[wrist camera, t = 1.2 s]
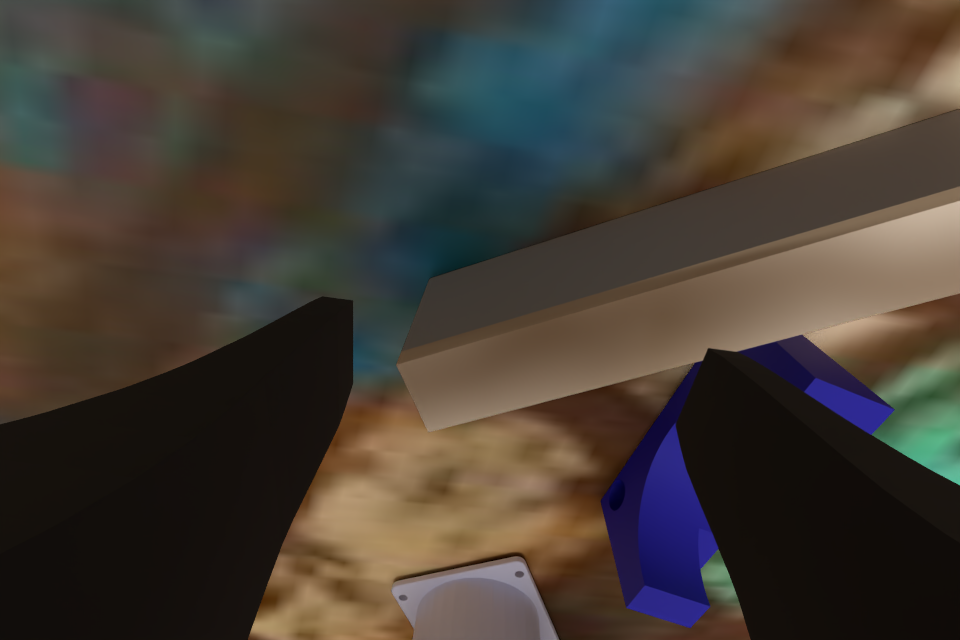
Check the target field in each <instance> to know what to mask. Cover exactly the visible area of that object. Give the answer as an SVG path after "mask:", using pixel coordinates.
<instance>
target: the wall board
mask: <svg viewBox="0 0 960 640" xmlns="http://www.w3.org/2000/svg"><path fill="white" fill-rule="evenodd" d="M958 293H960V109H957V110H954V111H951V112H948V113H945V114H942V115H939V116H936V117H932V118H929V119H926V120H923V121H920V122H917V123H914V124H911V125H907V126H904V127H901V128H898V129H895V130H892V131H889V132H886V133H882V134H879V135H876V136H873V137H870V138H867V139H864V140H861V141H857V142H854V143H851V144H848V145H845V146H842V147H839V148H836V149H832V150H829V151H826V152H823V153H820V154H817V155H814V156H811V157H807V158H804V159H801V160H798V161H795V162H792V163H789V164H786V165H782V166H779V167H776V168H773V169H770V170H767V171H764V172H761V173H758V174H754V175H751V176H748V177H745V178H742V179H739V180H736V181H733V182H729V183H726V184H723V185H720V186H717V187H714V188H711V189H708V190H704V191H701V192H698V193H695V194H692V195H689V196H686V197H683V198H679V199H676V200H673V201H670V202H667V203H664V204H661V205H658V206H654V207H651V208H648V209H645V210H642V211H639V212H636V213H633V214H629V215H626V216H623V217H620V218H617V219H614V220H611V221H608V222H604V223H601V224H598V225H595V226H592V227H589V228H586V229H583V230H579V231H576V232H573V233H570V234H567V235H564V236H561V237H558V238H554V239H551V240H548V241H545V242H542V243H539V244H536V245H533V246H530V247H526V248H523V249H520V250H517V251H514V252H511V253H508V254H505V255H501V256H498V257H495V258H492V259H489V260H486V261H483V262H480V263H476V264H473V265H470V266H467V267H464V268H461V269H458V270H455V271H451V272H448V273H445V274H442V275H439V276H436V277H433V278H430V279H429V281H428V284H427V286H426V289H425V292H424V294H423V297H422V299H421V302H420V305H419V307H418V310H417V312H416V315H415V318H414V320H413V323H412V325H411V328H410V331H409V333H408V336H407V338H406V341H405V344H404V346H403V349H402V351H401V354H400V356H399V359H398V362H397V364H396V365H397V367H398V370H399V372H400V374H401V376H402V378H403V380H404V382H405V384H406V386H407V388H408V391H409V393H410V395H411V397H412V399H413V401H414V403H415V405H416V407H417V409H418V412H419V414H420V416H421V418H422V420H423V422H424V424H425V426H426V428H427V430H428V432H432V431H436V430H440V429H443V428H447V427H451V426H455V425H459V424H462V423H466V422H470V421H474V420H478V419H482V418H485V417H489V416H493V415H497V414H501V413H504V412H508V411H512V410H516V409H520V408H523V407H527V406H531V405H535V404H539V403H543V402H546V401H550V400H554V399H558V398H562V397H565V396H569V395H573V394H577V393H581V392H584V391H588V390H592V389H596V388H600V387H604V386H607V385H611V384H615V383H619V382H623V381H626V380H630V379H634V378H638V377H642V376H646V375H649V374H653V373H657V372H661V371H665V370H668V369H672V368H676V367H680V366H684V365H687V364H691V363H695V362H699V361H703V359H704V356H705V354H706V352H707V349H708V348H712V349H719V350H727V351H734V352H737V351H741V350H745V349H748V348H752V347H756V346H760V345H764V344H768V343H771V342H775V341H779V340H783V339H787V338H790V337H794V336H798V335H802V334H806V333H810V332H813V331H817V330H821V329H825V328H829V327H832V326H836V325H840V324H844V323H848V322H851V321H855V320H859V319H863V318H867V317H871V316H874V315H878V314H882V313H886V312H890V311H893V310H897V309H901V308H905V307H909V306H912V305H916V304H920V303H924V302H928V301H932V300H935V299H939V298H943V297H947V296H951V295H954V294H958Z"/></svg>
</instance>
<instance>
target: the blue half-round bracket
mask: <svg viewBox="0 0 960 640" xmlns="http://www.w3.org/2000/svg"><path fill="white" fill-rule="evenodd" d="M737 352H739V353H741V354H743V355H745V356H747V357H749V358H751V359H753V360H754V361H756V362H758V363H759V364H761V365H763V366H764V367H766V368H768V369H769V370H771V371H773V372H774V373H776V374H777V375H779V376H780V377H782V378H783V379H785V380H787V381H788V382H790V383H791V384H793V385H794V386H796V387H797V388H799V389H800V390H802V391H803V392H805V393H806V394H808V395H809V396H811V397H812V398H814V399H816V400H817V401H819V402H820V403H822V404H823V405H825V406H826V407H828V408H829V409H831V410H832V411H834V412H835V413H837V414H839V415H840V416H842V417H843V418H845V419H846V420H848V421H850V422H851V423H853V424H854V425H856V426H857V427H859V428H861V429H862V430H864V431H865V432H867V433H869V434H870V435H872V433H873V432H874V431H875V430H876V429H877V428H878V427H879V426H880V425H881V424H882V423H883V422H884V421H885V420H886V419H887V417H888V416H889V415H890V414H891V413H892V412H893V411H894V410H895V409H893V408H892V407H891V406H890V405H888V404H887V403H886V402H885V401H883V400H882V399H881V398H880V397H879V396H877V395H876V394H875V393H874V392H872V391H871V390H870V389H869V388H867V387H866V386H865V385H864V384H862V383H861V382H860V381H859V380H857V379H856V378H855V377H854V376H852V375H851V374H850V373H849V372H848V371H846V370H845V369H844V368H843V367H841V366H840V365H839V364H838V363H836V362H835V361H834V360H833V359H831V358H830V357H829V356H828V355H826V354H825V353H824V352H823V351H822V350H820V349H819V348H818V347H817V346H815V345H814V344H813V343H812V342H810V341H809V340H808V339H807V338H805V337H804V336H803V335H798V336H794V337H790V338H787V339H783V340H779V341H775V342H771V343H768V344H764V345H760V346H756V347H752V348H748V349H745V350H741V351H737ZM701 363H702V361H699V362H695V364H694V365H693V367H692V368H691V370H690V371H689V373H688V374H687V376H686V377H685V378H684V380H683V381H682V383H681V384H680V386H679V387H678V389H677V390H676V392H675V393H674V395H673V396H672V397H671V399H670V400H669V402H668V403H667V405H666V406H665V408H664V409H663V411H662V412H661V413H660V415H659V416H658V418H657V419H656V421H655V422H654V424H653V425H652V427H651V428H650V430H649V431H648V432H647V434H646V435H645V437H644V438H643V440H642V441H641V443H640V444H639V446H638V447H637V449H636V450H635V451H634V453H633V454H632V456H631V457H630V459H629V460H628V462H627V463H626V465H625V466H624V467H623V469H622V470H621V472H620V473H619V475H618V476H617V478H616V479H615V481H614V482H613V484H612V485H611V486H610V488H609V489H608V491H607V492H606V494H605V495H604V497H603V498H602V500H601V505H602V509H603V513H604V517H605V522H606V526H607V530H608V534H609V538H610V542H611V546H612V551H613V555H614V559H615V563H616V567H617V571H618V575H619V579H620V584H621V588H622V592H623V596H624V600H625V604H626V608H628V609H632V610H635V611H638V612H641V613H644V614H648V615H651V616H654V617H657V618H660V619H663V620H667V621H670V622H673V623H676V624H679V625H682V626H686V627H689V628H691V627H692V625H693V624H694V623H695V622H696V621H697V620H698V619H699V618H700V617H701V616H702V615H703V614H704V613H705V612H706V611H707V609H708V608H709V607H710V604H709V601H708V599H707V596H706V593H705V589H704V585H703V581H702V576H701V571H700V569H701V568H702V567H703V566H704V564H705V563H706V562H707V561H708V560H709V559H710V558H711V557H712V555H713V554H714V553H715V552H716V551H717V550H718V549H719V548H718V546H717V544H716V541H715V539H714V536H713V534H712V532H711V529H710V527H709V524H708V522H707V520H706V517H705V515H704V512H703V510H702V508H701V505H700V503H699V500H698V498H697V495H696V493H695V490H694V488H693V485H692V483H691V480H690V478H689V475H688V473H687V470H686V467H685V463H684V459H683V456H682V452H681V448H680V444H679V439H678V435H677V430H676V426H675V425H676V422H677V420H678V417H679V415H680V413H681V410H682V408H683V406H684V403H685V401H686V399H687V396H688V394H689V392H690V389H691V387H692V385H693V382H694V380H695V378H696V375H697V373H698V371H699V368H700V366H701Z"/></svg>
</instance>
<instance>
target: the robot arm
mask: <svg viewBox="0 0 960 640" xmlns="http://www.w3.org/2000/svg"><path fill="white" fill-rule="evenodd" d="M352 385H353V301H352V300H345V299H337V298H330V297H320V298H318V299H316V300H314V301H311V302H309V303H308V304H306V305H304V306H302V307H300V308H298V309H296V310H294V311H292V312H291V313H289V314H287V315H285V316H283V317H281V318H280V319H278V320H276V321H274V322H272V323H270V324H268V325H266V326H264V327H263V328H261V329H259V330H257V331H255V332H253V333H251V334H249V335H247V336H245V337H243V338H241V339H239V340H237V341H235V342H233V343H231V344H229V345H226V346H224V347H222V348H220V349H218V350H216V351H214V352H212V353H210V354H207V355H205V356H203V357H201V358H199V359H197V360H195V361H192V362H190V363H188V364H185V365H183V366H181V367H178V368H176V369H173V370H171V371H168V372H166V373H163V374H160V375H158V376H155V377H152V378H150V379H147V380H144V381H142V382H139V383H136V384H134V385H131V386H128V387H125V388H122V389H120V390H117V391H113V392H110V393H107V394H104V395H100V396H97V397H94V398H91V399H88V400H84V401H81V402H78V403H75V404H71V405H68V406H65V407H62V408H58V409H55V410H52V411H49V412H45V413H42V414H38V415H35V416H31V417H27V418H23V419H20V420H16V421H12V422H8V423H4V424H0V640H248V637H249V634H250V631H251V628H252V626H253V623H254V620H255V617H256V614H257V611H258V609H259V606H260V603H261V600H262V597H263V595H264V592H265V589H266V587H267V584H268V581H269V579H270V576H271V573H272V570H273V568H274V565H275V562H276V560H277V557H278V554H279V552H280V549H281V546H282V544H283V541H284V539H285V537H286V535H287V532H288V530H289V528H290V526H291V523H292V521H293V519H294V517H295V515H296V513H297V511H298V509H299V507H300V505H301V503H302V501H303V499H304V497H305V494H306V492H307V490H308V488H309V486H310V484H311V482H312V480H313V478H314V476H315V474H316V472H317V470H318V468H319V466H320V464H321V462H322V460H323V458H324V456H325V454H326V452H327V450H328V448H329V445H330V443H331V441H332V439H333V437H334V435H335V433H336V431H337V429H338V427H339V424H340V422H341V419H342V416H343V413H344V410H345V407H346V404H347V401H348V398H349V394H350V391H351V388H352ZM675 426H676V430H677V435H678V439H679V444H680V448H681V452H682V456H683V459H684V463H685V467H686V470H687V473H688V475H689V478H690V480H691V483H692V485H693V488H694V490H695V493H696V495H697V498H698V500H699V503H700V505H701V508H702V510H703V512H704V515H705V517H706V520H707V522H708V524H709V527H710V529H711V532H712V534H713V536H714V539H715V541H716V544H717V546H718V548H719V551H720V553H721V556H722V558H723V560H724V563H725V565H726V568H727V570H728V572H729V575H730V578H731V580H732V583H733V586H734V588H735V591H736V594H737V597H738V599H739V602H740V606H741V609H742V612H743V616H744V619H745V622H746V626H747V629H748V632H749V636H750V639H751V640H960V485H958V484H956V483H954V482H952V481H950V480H948V479H946V478H945V477H943V476H941V475H939V474H937V473H935V472H933V471H932V470H930V469H928V468H926V467H924V466H923V465H921V464H919V463H917V462H916V461H914V460H912V459H910V458H909V457H907V456H905V455H904V454H902V453H900V452H899V451H897V450H895V449H894V448H892V447H890V446H889V445H887V444H885V443H884V442H882V441H880V440H879V439H877V438H875V437H874V436H872V435H870V434H869V433H867V432H865V431H864V430H862V429H861V428H859V427H857V426H856V425H854V424H853V423H851V422H850V421H848V420H846V419H845V418H843V417H842V416H840V415H839V414H837V413H835V412H834V411H832V410H831V409H829V408H828V407H826V406H825V405H823V404H822V403H820V402H819V401H817V400H816V399H814V398H812V397H811V396H809V395H808V394H806V393H805V392H803V391H802V390H800V389H799V388H797V387H796V386H794V385H793V384H791V383H790V382H788V381H787V380H785V379H783V378H782V377H780V376H779V375H777V374H776V373H774V372H773V371H771V370H769V369H768V368H766V367H764V366H763V365H761V364H759V363H758V362H756V361H754V360H753V359H751V358H749V357H747V356H745V355H743V354H741V353H739V352H734V351H727V350H719V349H712V348H708V349H707V352H706V354H705V356H704V359H703V361H702V363H701V366H700V368H699V371H698V373H697V375H696V378H695V380H694V382H693V385H692V387H691V389H690V392H689V394H688V396H687V399H686V401H685V403H684V406H683V408H682V410H681V413H680V415H679V417H678V420H677V422H676V425H675ZM391 592H392V594H393V596H394V597H395V599H396V601H397V602H398V604H399V605H400V607H401V609H402V610H403V612H404V614H405V615H406V617H407V618H408V620H409V622H410V623H411V625H412V627H413V628H414V633H413V639H412V640H559V637H558V635H557V633H556V631H555V628H554V626H553V624H552V621H551V619H550V617H549V614H548V612H547V610H546V608H545V605H544V603H543V601H542V598H541V596H540V594H539V591H538V589H537V587H536V584H535V582H534V580H533V578H532V575H531V573H530V571H529V568H528V566H527V564H526V561H525V560H524V559H523V558H521V557H518V556H514V557H509V558H505V559H500V560H495V561H490V562H485V563H481V564H476V565H471V566H466V567H461V568H457V569H452V570H447V571H442V572H437V573H433V574H428V575H423V576H418V577H413V578H409V579H404V580H399V581H396V582H394V583H393V585H392V589H391Z"/></svg>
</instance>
